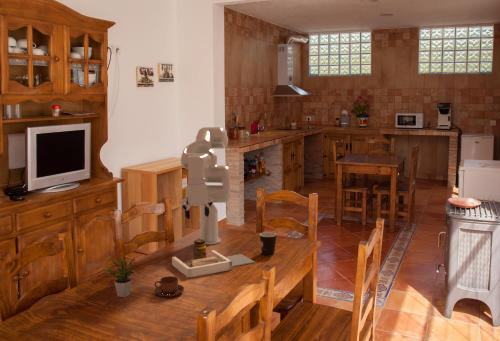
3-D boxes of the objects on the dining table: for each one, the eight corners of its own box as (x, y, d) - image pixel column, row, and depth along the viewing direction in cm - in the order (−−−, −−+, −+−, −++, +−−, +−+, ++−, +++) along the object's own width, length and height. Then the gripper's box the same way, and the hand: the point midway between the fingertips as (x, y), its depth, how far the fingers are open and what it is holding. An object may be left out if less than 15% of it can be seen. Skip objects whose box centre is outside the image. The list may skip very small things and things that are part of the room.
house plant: (128, 284, 235) (127, 248, 232) (149, 292, 226) (148, 254, 223) (100, 294, 224) (98, 256, 221) (121, 302, 215) (119, 263, 212)
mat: (220, 258, 269) (220, 257, 269) (241, 255, 274) (241, 253, 274) (232, 266, 257) (232, 265, 256) (254, 262, 262) (254, 261, 262)
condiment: (210, 264, 260) (209, 240, 258) (196, 268, 254) (195, 244, 252) (200, 261, 265) (200, 237, 263) (186, 265, 260) (186, 241, 258)
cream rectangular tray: (172, 265, 260) (172, 257, 259) (214, 257, 270) (213, 250, 270) (188, 277, 242) (188, 269, 242) (232, 269, 253) (232, 261, 252)
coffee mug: (276, 256, 273) (276, 236, 271) (259, 256, 273) (259, 236, 271) (276, 249, 284) (276, 230, 283) (259, 249, 284) (259, 230, 283)
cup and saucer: (156, 300, 217) (155, 285, 216) (153, 289, 229) (153, 276, 228) (186, 297, 221) (185, 282, 220) (181, 286, 232) (181, 273, 231)
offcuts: (189, 271, 251) (189, 260, 250) (217, 266, 258) (216, 255, 257) (193, 274, 247) (193, 263, 246) (221, 269, 254) (221, 258, 253)
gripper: (210, 179, 261) (210, 213, 263) (176, 182, 252) (177, 217, 255) (216, 181, 254) (217, 216, 257) (182, 184, 246) (183, 220, 248)
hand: (197, 217), depth 256 cm, fingers open, 9 cm apart
